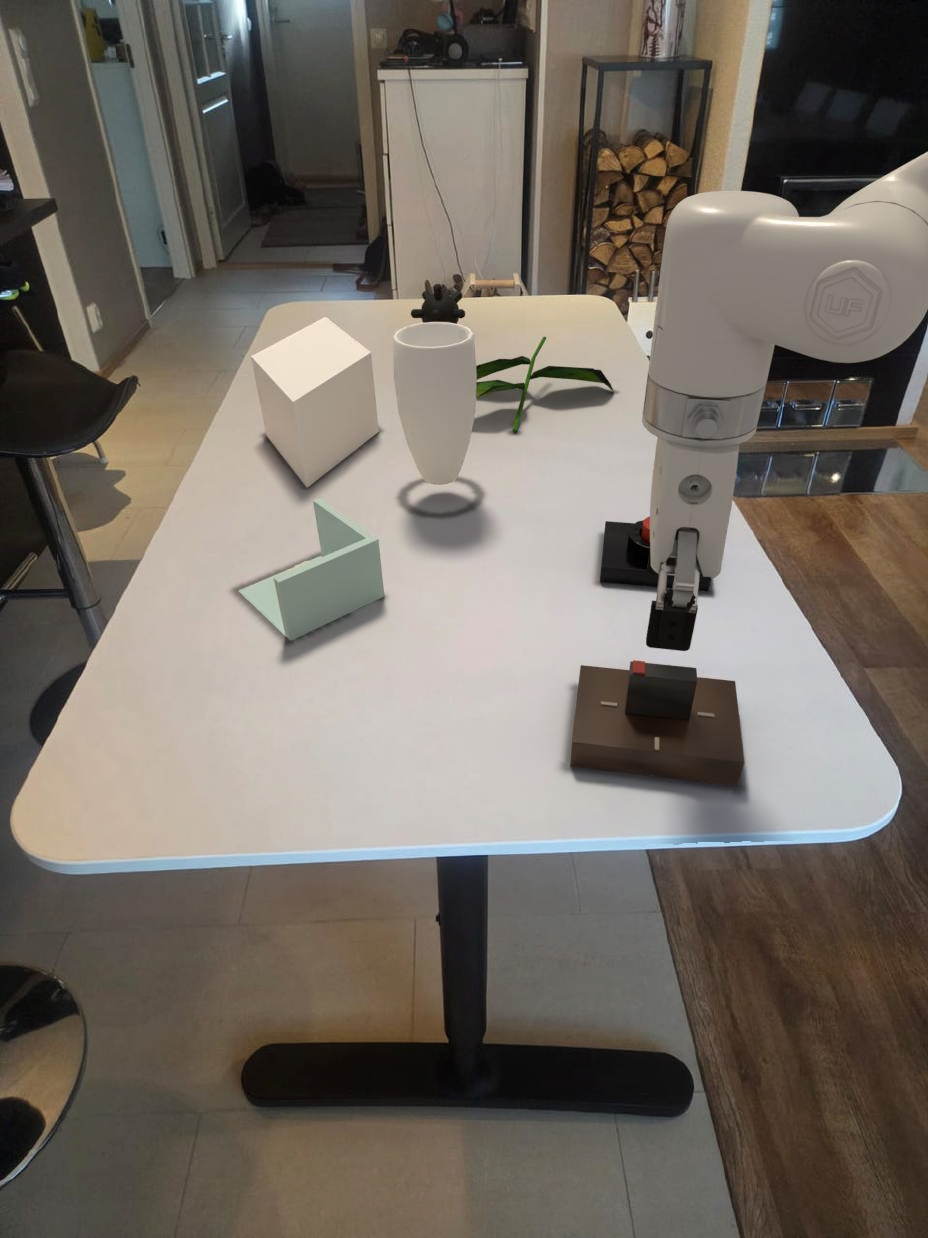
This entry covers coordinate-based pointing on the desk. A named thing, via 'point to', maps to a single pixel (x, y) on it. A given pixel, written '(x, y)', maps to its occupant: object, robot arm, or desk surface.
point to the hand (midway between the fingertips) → (666, 608)
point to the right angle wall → (323, 578)
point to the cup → (436, 395)
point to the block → (316, 397)
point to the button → (646, 529)
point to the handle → (660, 690)
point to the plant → (531, 376)
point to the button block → (631, 557)
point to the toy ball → (439, 307)
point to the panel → (657, 732)
